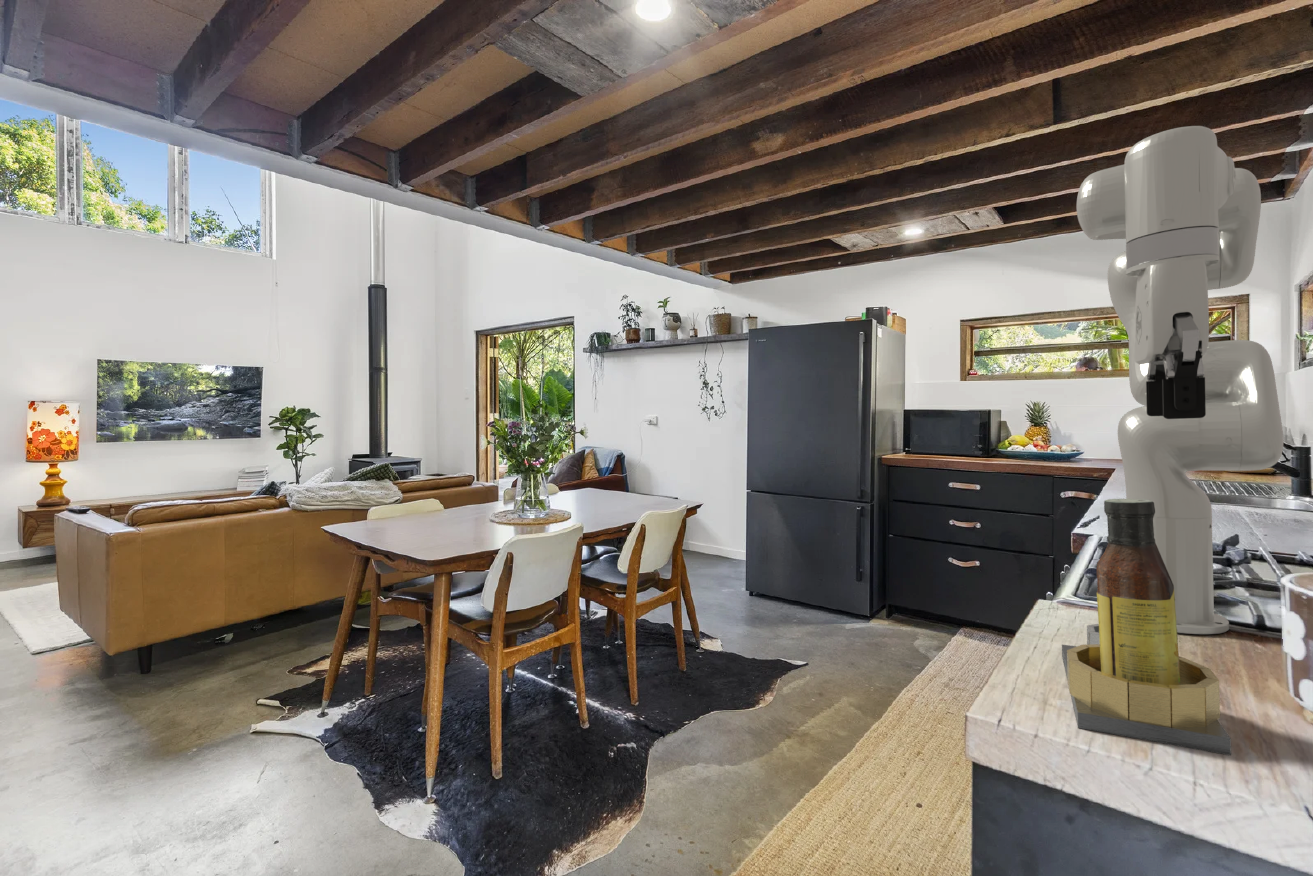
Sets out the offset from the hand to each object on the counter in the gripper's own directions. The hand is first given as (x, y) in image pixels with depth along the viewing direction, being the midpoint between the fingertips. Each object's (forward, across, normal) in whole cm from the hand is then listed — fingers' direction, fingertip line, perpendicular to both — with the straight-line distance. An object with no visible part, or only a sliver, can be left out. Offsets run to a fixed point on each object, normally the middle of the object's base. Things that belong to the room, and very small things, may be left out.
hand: (1173, 416), depth 65 cm
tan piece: (+30, +4, -5) cm, 30 cm away
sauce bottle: (+28, +8, -4) cm, 30 cm away
